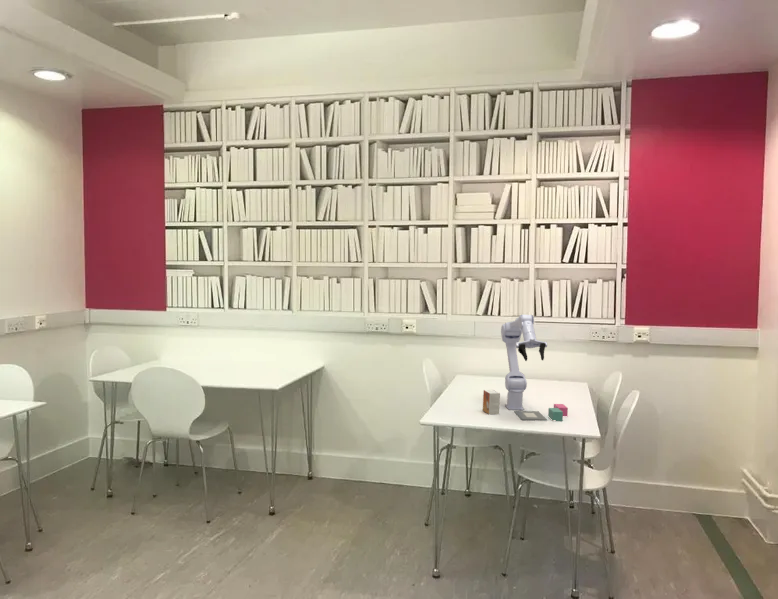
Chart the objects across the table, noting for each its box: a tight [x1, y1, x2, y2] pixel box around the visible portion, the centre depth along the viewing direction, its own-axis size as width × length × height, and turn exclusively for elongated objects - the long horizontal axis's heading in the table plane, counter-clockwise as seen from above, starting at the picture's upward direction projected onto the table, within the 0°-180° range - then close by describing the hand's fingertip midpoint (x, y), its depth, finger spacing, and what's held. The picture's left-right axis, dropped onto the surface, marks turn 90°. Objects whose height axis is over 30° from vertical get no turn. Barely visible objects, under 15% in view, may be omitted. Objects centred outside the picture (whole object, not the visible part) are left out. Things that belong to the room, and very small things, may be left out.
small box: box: [482, 389, 501, 415], centre depth 307 cm, size 8×6×10 cm
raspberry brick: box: [553, 403, 569, 417], centre depth 307 cm, size 8×5×4 cm, turn 1°
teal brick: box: [547, 407, 564, 422], centre depth 298 cm, size 8×5×4 cm, turn 1°
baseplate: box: [513, 410, 548, 421], centre depth 302 cm, size 16×12×1 cm
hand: (534, 359), depth 288 cm, fingers open, 7 cm apart
